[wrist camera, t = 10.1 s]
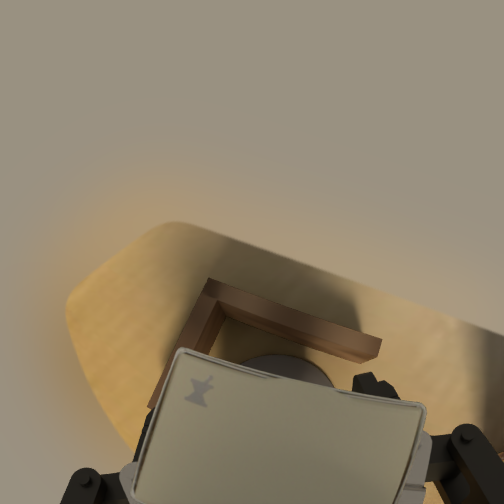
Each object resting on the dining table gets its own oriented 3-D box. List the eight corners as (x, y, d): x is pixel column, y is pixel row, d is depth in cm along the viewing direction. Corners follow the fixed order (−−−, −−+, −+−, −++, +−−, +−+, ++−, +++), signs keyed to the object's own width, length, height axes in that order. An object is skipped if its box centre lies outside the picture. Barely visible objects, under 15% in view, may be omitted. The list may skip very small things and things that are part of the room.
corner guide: (365, 349, 21) (382, 339, 17) (319, 467, 17) (328, 480, 14) (218, 296, 24) (208, 277, 20) (167, 406, 20) (146, 406, 16)
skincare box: (210, 440, 15) (111, 493, 5) (232, 377, 17) (164, 336, 6) (313, 467, 14) (376, 560, 3) (333, 403, 16) (434, 401, 5)
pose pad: (365, 401, 19) (366, 401, 19) (284, 498, 16) (284, 499, 16) (263, 330, 22) (263, 329, 22) (182, 423, 19) (181, 424, 19)
